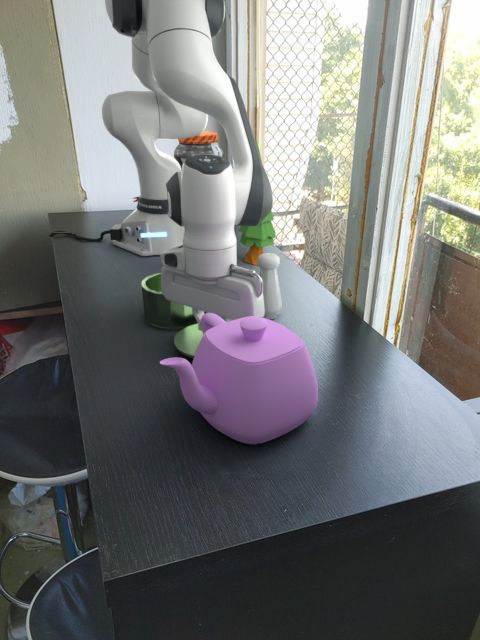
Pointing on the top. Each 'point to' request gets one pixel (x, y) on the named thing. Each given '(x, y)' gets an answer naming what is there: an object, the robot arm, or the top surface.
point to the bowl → (164, 307)
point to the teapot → (249, 378)
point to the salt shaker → (270, 284)
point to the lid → (188, 340)
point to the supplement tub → (198, 146)
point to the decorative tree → (257, 236)
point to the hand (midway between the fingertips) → (212, 332)
